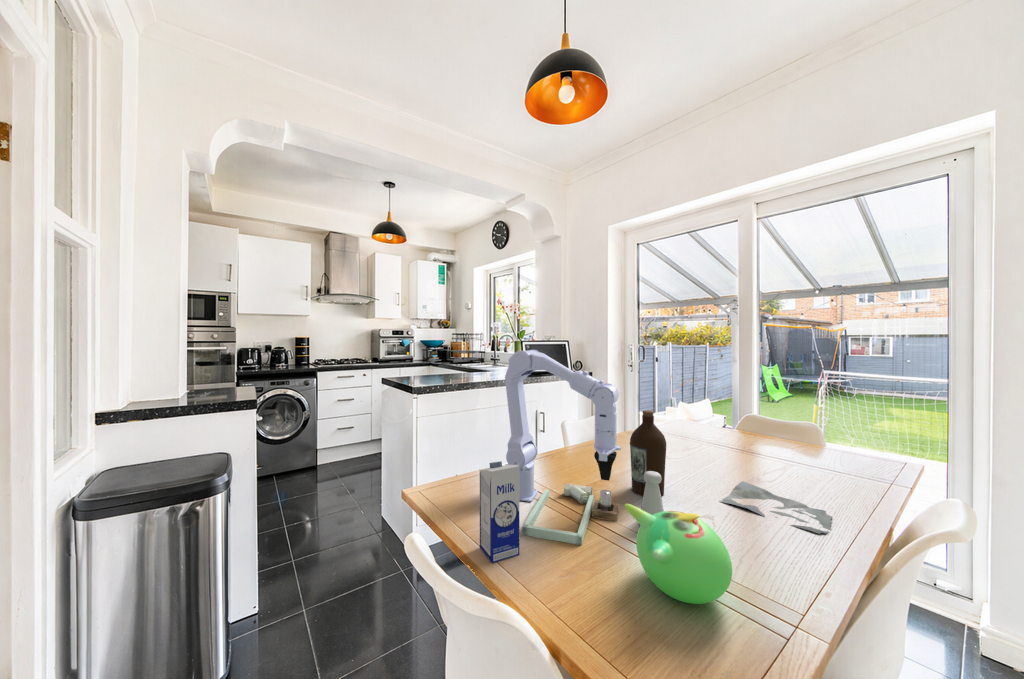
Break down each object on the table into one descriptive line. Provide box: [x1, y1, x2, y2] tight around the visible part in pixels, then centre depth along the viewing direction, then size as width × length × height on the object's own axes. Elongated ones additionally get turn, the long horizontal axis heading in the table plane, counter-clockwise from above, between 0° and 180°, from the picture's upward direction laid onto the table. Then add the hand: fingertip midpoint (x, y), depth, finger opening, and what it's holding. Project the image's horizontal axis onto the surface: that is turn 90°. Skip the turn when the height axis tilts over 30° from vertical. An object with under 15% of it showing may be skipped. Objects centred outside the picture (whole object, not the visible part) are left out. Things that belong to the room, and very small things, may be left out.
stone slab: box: [719, 480, 833, 535], centre depth 106 cm, size 24×16×2 cm, turn 38°
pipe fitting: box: [563, 482, 593, 504], centre depth 113 cm, size 8×4×7 cm
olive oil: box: [629, 409, 667, 497], centre depth 118 cm, size 11×11×25 cm
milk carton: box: [478, 460, 520, 564], centre depth 86 cm, size 7×7×20 cm
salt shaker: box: [640, 471, 665, 515], centre depth 99 cm, size 6×6×13 cm
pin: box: [599, 489, 612, 512], centre depth 104 cm, size 3×3×6 cm
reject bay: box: [521, 488, 595, 546], centre depth 102 cm, size 14×24×2 cm, turn 161°
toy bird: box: [624, 503, 733, 605], centre depth 73 cm, size 18×17×15 cm
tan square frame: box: [591, 500, 619, 522], centre depth 104 cm, size 6×6×2 cm
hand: (605, 479), depth 103 cm, fingers closed
